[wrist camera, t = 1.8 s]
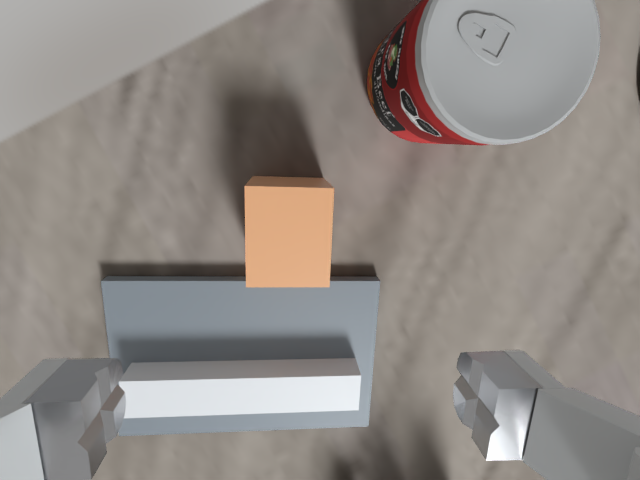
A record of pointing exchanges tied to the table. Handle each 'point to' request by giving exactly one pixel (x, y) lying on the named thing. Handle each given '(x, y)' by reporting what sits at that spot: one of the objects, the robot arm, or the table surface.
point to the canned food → (484, 69)
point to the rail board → (241, 353)
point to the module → (288, 231)
